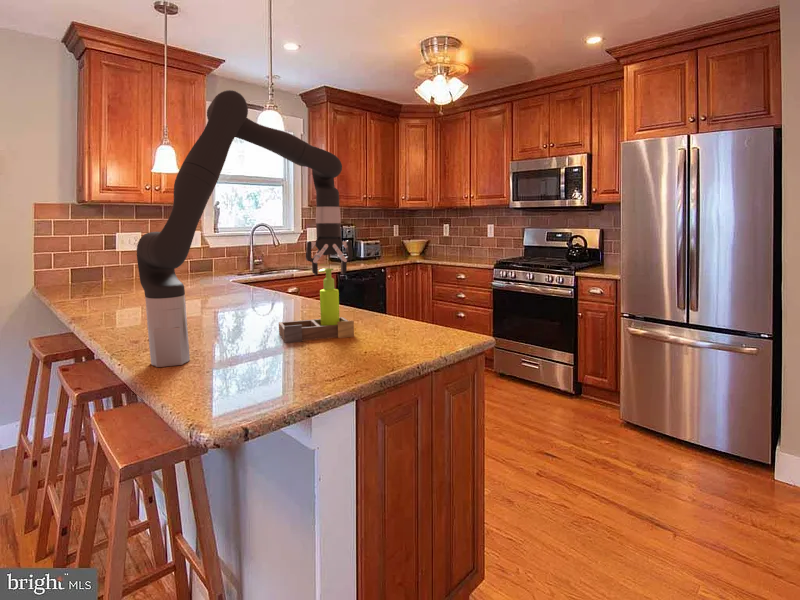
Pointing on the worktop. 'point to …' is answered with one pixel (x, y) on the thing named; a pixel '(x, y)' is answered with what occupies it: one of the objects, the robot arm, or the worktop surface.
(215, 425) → the worktop surface
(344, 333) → the dock
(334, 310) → the soap dispenser
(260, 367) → the worktop surface
